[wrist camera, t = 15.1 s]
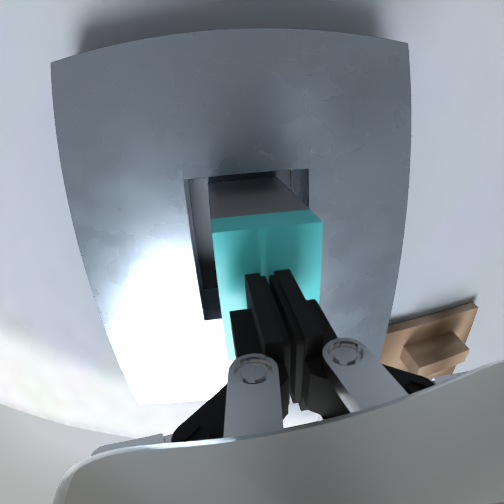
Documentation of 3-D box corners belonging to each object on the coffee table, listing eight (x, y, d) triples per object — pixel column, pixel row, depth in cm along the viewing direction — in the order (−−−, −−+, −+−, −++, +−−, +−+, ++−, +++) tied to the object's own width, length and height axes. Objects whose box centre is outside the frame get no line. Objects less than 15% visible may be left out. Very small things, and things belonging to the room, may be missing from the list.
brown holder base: (472, 302, 26) (496, 324, 23) (435, 394, 32) (450, 416, 29) (372, 328, 25) (394, 359, 22) (350, 423, 31) (362, 451, 27)
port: (376, 50, 16) (407, 43, 13) (360, 340, 25) (377, 367, 22) (75, 69, 14) (50, 62, 11) (142, 371, 24) (137, 404, 20)
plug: (276, 177, 19) (322, 221, 12) (278, 267, 21) (315, 347, 14) (207, 183, 18) (211, 233, 11) (217, 274, 21) (227, 360, 14)
